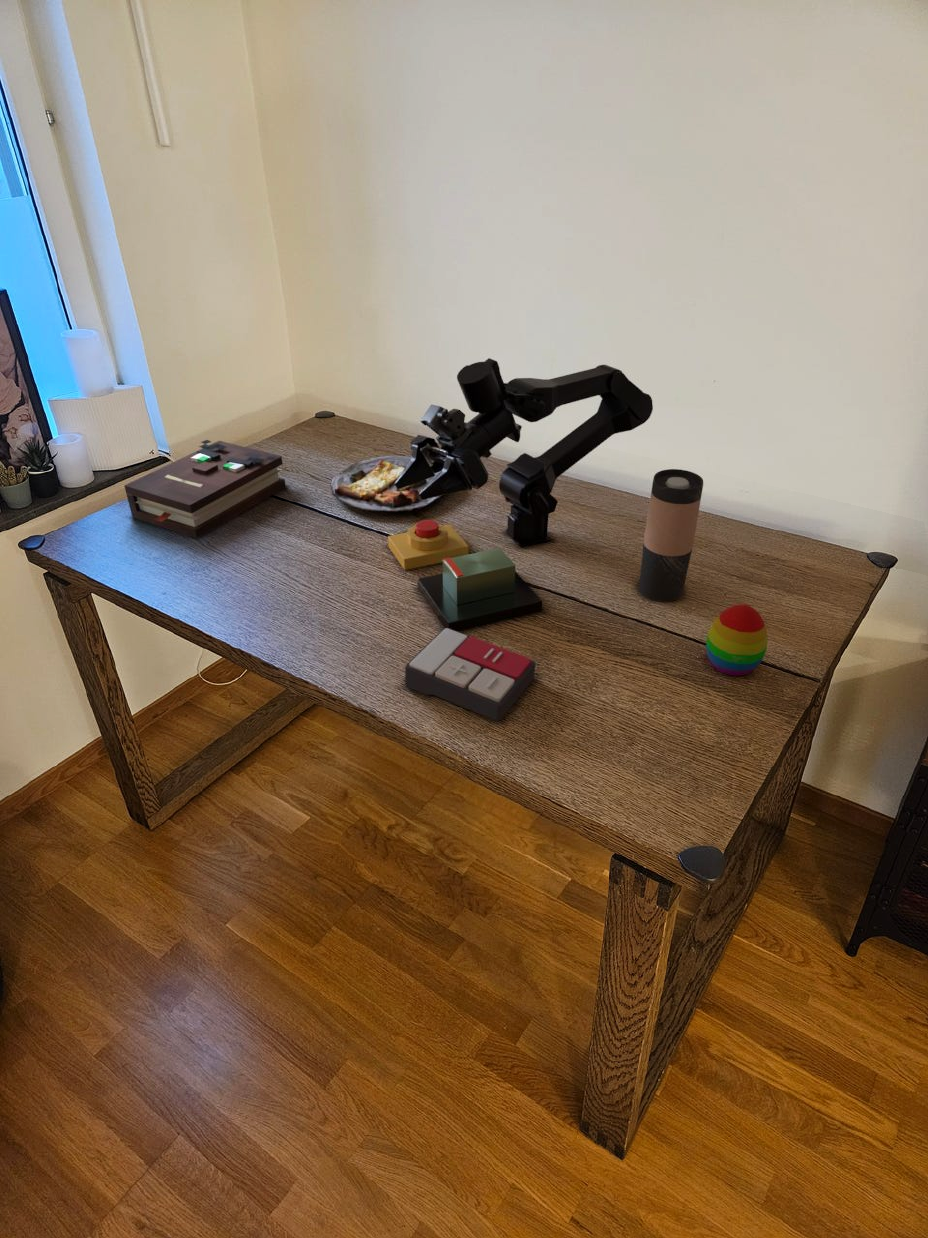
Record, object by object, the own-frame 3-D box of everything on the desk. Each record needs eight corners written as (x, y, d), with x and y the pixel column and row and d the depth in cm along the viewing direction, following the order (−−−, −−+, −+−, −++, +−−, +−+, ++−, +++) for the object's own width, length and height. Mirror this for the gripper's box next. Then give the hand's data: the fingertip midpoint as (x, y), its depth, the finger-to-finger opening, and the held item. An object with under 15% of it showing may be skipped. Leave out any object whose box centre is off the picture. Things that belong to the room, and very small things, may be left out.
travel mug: (686, 582, 136) (706, 472, 125) (681, 606, 130) (701, 492, 119) (640, 575, 138) (656, 465, 127) (633, 597, 132) (649, 485, 121)
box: (498, 574, 134) (499, 546, 131) (514, 592, 130) (515, 563, 127) (442, 586, 131) (442, 558, 128) (456, 605, 127) (456, 576, 124)
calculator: (501, 701, 105) (403, 662, 110) (498, 726, 107) (403, 686, 113) (537, 657, 113) (444, 622, 118) (534, 680, 115) (444, 645, 121)
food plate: (403, 530, 151) (402, 513, 149) (308, 501, 161) (306, 485, 159) (473, 482, 169) (473, 466, 167) (383, 458, 179) (382, 443, 177)
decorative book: (108, 484, 150) (222, 431, 172) (118, 520, 154) (228, 465, 176) (184, 507, 142) (293, 449, 164) (192, 545, 147) (297, 483, 168)
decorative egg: (745, 689, 113) (760, 631, 107) (692, 666, 117) (704, 608, 111) (770, 662, 118) (785, 605, 112) (718, 641, 122) (730, 585, 116)
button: (434, 526, 145) (433, 518, 144) (442, 536, 142) (442, 527, 141) (413, 530, 143) (412, 522, 142) (420, 541, 140) (420, 532, 139)
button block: (449, 534, 150) (449, 515, 148) (468, 556, 143) (468, 536, 141) (388, 546, 146) (387, 527, 144) (404, 570, 139) (403, 550, 137)
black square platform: (504, 569, 139) (505, 559, 138) (542, 611, 129) (542, 600, 128) (417, 588, 134) (417, 578, 133) (448, 633, 124) (448, 623, 123)
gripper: (432, 386, 135) (359, 441, 132) (488, 396, 119) (407, 459, 116) (462, 442, 141) (393, 495, 138) (519, 458, 125) (443, 519, 122)
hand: (407, 491), depth 128 cm, fingers open, 9 cm apart
